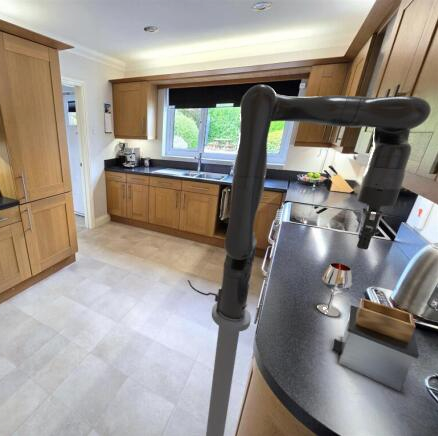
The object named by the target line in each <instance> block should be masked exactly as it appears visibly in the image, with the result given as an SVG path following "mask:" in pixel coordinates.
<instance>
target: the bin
mask: <svg viewBox="0 0 438 436" xmlns="http://www.w3.org/2000/svg"><path fill="white" fill-rule="evenodd" d="M357 309H358V306H355V305H353V304H351V305H350V307H349V314H348V315H349V316H348V320H347V323H346V325H345V329H344V332H343V336H342V339H341V340H339V339H336V338H334V339H333V341H332V342H333V343H332V348H331V352H332V351H333V352H334V353H337V354H339V360H338V364H340V365H342V366H344V367H346V368H348V369H350V370H353V371H355V372H357V373H359V374H361V375H363V376H366V377H367V378H370V379H372V380H374V381H377V382H378V383H380V384H383V385H385V386H387V387H389V388H391V389H394V390H396V391H397V392H401V390H402V388H403V385H404V383H405V380H406V378H407V376H408V373H409V371H410V369H411V366H412V364H413V362H414V360H415V359H417V360H418V359H419V357H420V353H419V349H418V345H417V340H416V336H415V331H414V332H413V334H412V336H411V339H410V341H409V343H406V342H404V341H401V340H398V339H396V338H393V337H390V336H387V335H385V334H382V333H379V332H377V331H374V330H371V329H369V328H366V327H363V326H360V325H358V324H356V312H357Z"/></svg>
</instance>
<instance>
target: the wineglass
mask: <svg viewBox="0 0 438 436" xmlns="http://www.w3.org/2000/svg"><path fill="white" fill-rule="evenodd" d="M321 280H322V281H321V282H322V283H323V285H324V286H325V288H326V289H327V290H328V291H329V292H330V297H329V301H328V304H323V303H322V304H318V305H317V309H318V311H319V312H320V313H322V314H324V315H326V316H329V317H334V318H335V317H338V316H339V315H340V312H339V311H338V310H337V309H336V308H335V307H333V306H332V303H333V299H334V297H335V295H336V294H340V293H345V292H347V291H349V290H350V289H351V288H352V285H353V275H352V268H351V267H350V266H348V265H346V264H344V263H340V262H331V263H330V264H329V265H328V266H327V268H326V269H325V271H324V272H323V273H322V277H321Z"/></svg>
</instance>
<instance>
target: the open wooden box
mask: <svg viewBox="0 0 438 436" xmlns="http://www.w3.org/2000/svg"><path fill="white" fill-rule="evenodd" d="M357 307H358V309H357V312H356V324H358V325H360V326H363V327H366V328H369V329H371V330H374V331H377V332H379V333H382V334H385V335H387V336H390V337H393V338H396V339H398V340H401V341H404V342H406V343H409V341H410V339H411V336H412V334H413V332H414V333H415V329H416V323H415V319H414V315H413V313H411V312H407V311H406V310H405V311H404V310H401V309H398V308H394V307H391V306H389V305H386V304H382V303H379V302H375V301H372V300H369V299H366V298H363V297H361V298H360V300H359V304H358V306H357Z"/></svg>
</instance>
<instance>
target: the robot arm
mask: <svg viewBox="0 0 438 436" xmlns="http://www.w3.org/2000/svg"><path fill="white" fill-rule="evenodd" d="M239 108H240V110H239V113H240V114H239V115H240V117H239V123H240V124H239V127H240V128H239V140H238V146H237V151H236V156H235V161H234V166H233V172H232V182H231V192H230V193H231V194H230V208H229V209H230V210H229V211H230V212H229V220H228V225H227V229H226V234H225V238H224V242H223V246H224V250H225V252H226V253H225V259H224V262H223V265H222V275H221V284H220V287H219V289H218V291H217V293H214V292H207V293H205V292H203V291H200V290H199V289H196V288H195V287H194V286H193V285H192V283H191V281H190V279H187V283H188V284H189V286H190V288H191V289H192V290H194V291H195V292H196V293H198V294H200V295H203V296H207V297H208V296H209V295H211V296H214V302H215V303H217V308H216V312H218V313H219V314H220V315H221V316H222V317H223V318H225V319H227V320H229V321H235V322H236V321H241V320H243V319H244V317H245V309H247V307H248V303H247V302H248V295H249V289H250V283H251V276H252V271H253V267H254V262H255V255H256V249H257V243H258V240H257V236H256V233H255V232H254V225H255V221H256V216H257V213H258V211H259V208H260V204H261V201H262V197H263V193H264V190H265V183H266V176H267V168H268V167H267V166H268V139H269V138H268V137H269V133H270V129H271V124H272V122H297V123H306V124H316V125H323V126H333V127H343V128H366V127H367V128H373V129H374V130H373V139H372V149H371V153H370V155H369V158H368V161H367V166H366V169H365V171H364V172H363V175H362V179H361V182H360V186H359V189H358V193H357V196H356V201H357V202H358V203H361V204H365V205H366V206H365V207H362V209H361V214H360V223H359V226H360V229H359V232H358V235H357V236H358V237H357V238H358V240H357V245H356V248H357V249H360V250H368V249H369V246H370V244H371V240H372V237H374V236H375V235H376V230H377V229H378V228H379V224H380V221H381V219H382V218H383V214H384V212H383V209H381V208H382V207H393V206H395V205H396V204H397V200H398V196H399V195H400V191H401V188H402V185H403V182H404V180H405V176H406V175H405V174H406V168H407V165H408V162H409V160H410V157H411V153H412V146H411V144H410V143H409V138H410V134H411V133H410V132H411V130H412V129H415V128H417V127H419V126H421V125H422V124H423V123H425V122H426V121H427V120H428V118H429V117H430V115H431V109H432V108H431V104H430V103H429V102H428V101H427V100H426V99H424V98H422V97H417V96H380V97H379V96H378V97H369V96H368V97H367V96H359V95H356V96H355V95H321V96H320V95H319V96H318V95H317V96H288V95H282V94H278V93H276V92H275V90H274V89H273V88H272V87H271V86H269V85H267V84H261V83H260V84H256V85H254V86H252V87H250V88H249V89H248V90H247V91H246V92H245V94H244V95H243V96H242V98H241V101H240V105H239Z"/></svg>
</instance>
